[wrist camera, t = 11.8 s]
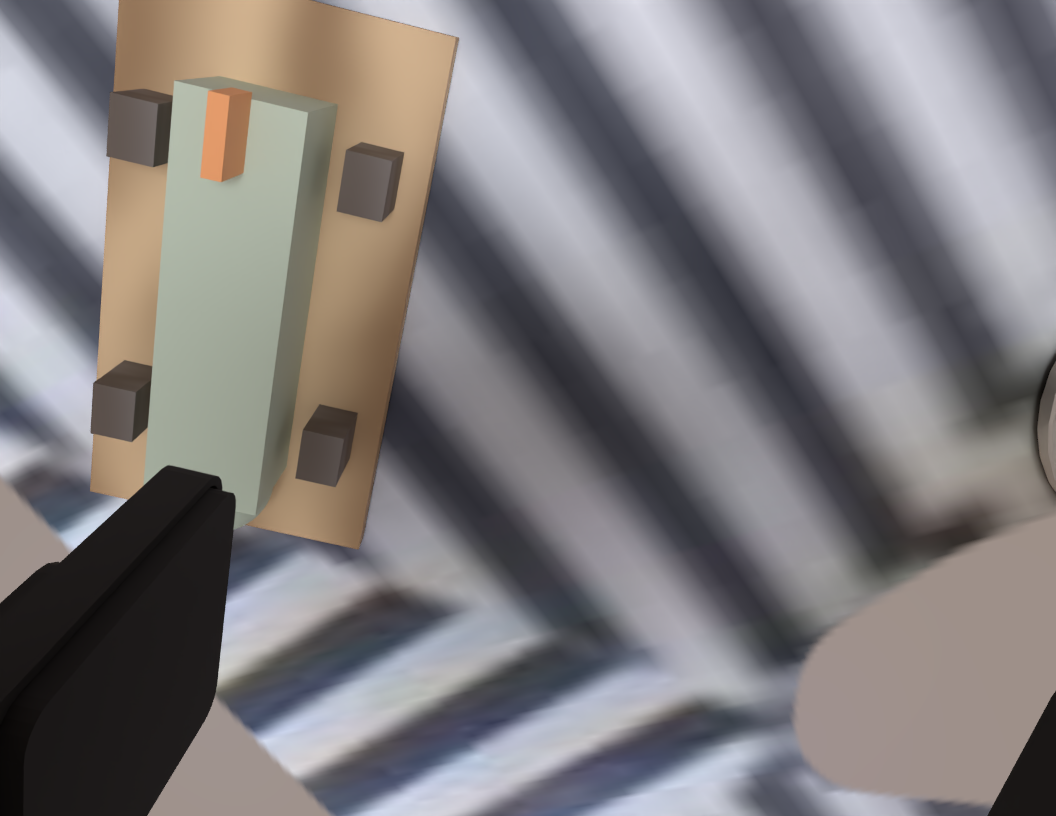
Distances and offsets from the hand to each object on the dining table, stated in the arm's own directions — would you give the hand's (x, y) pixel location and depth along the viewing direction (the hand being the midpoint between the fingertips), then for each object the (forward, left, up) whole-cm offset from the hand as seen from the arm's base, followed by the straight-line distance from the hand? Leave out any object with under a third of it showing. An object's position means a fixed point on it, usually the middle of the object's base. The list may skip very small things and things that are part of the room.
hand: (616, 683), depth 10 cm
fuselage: (+11, +4, -24) cm, 27 cm away
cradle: (+11, +4, -25) cm, 27 cm away
